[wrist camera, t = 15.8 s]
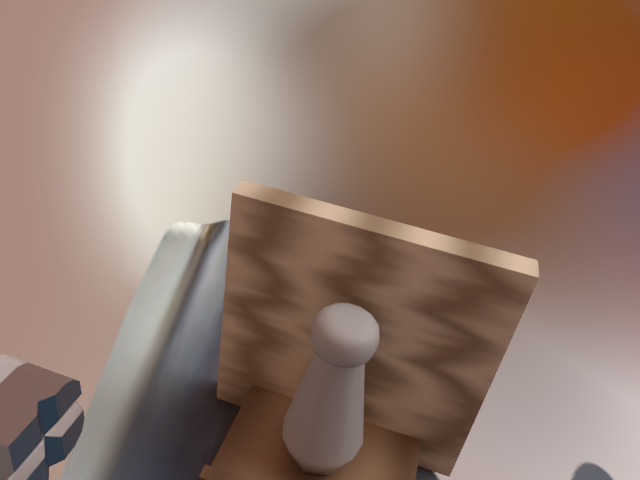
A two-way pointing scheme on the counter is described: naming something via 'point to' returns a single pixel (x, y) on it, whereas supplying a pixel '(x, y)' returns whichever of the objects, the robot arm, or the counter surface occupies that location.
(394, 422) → the wall board
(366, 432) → the cleat ledge
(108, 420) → the counter surface
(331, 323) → the salt shaker
